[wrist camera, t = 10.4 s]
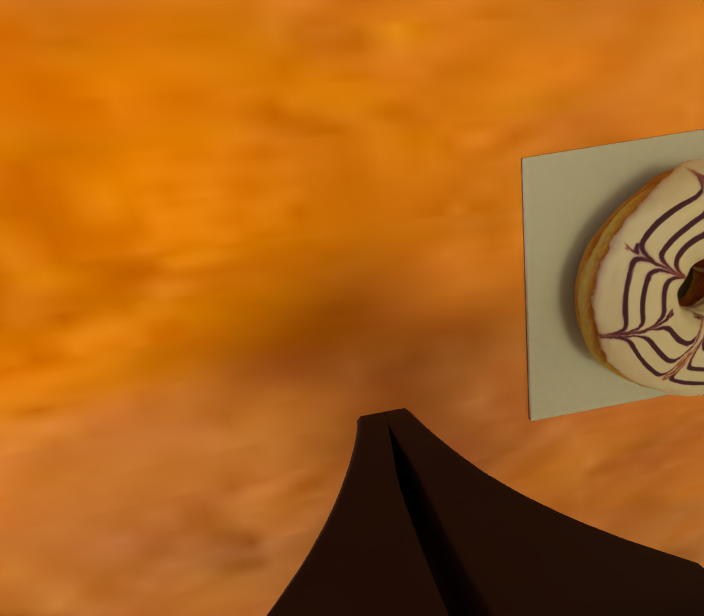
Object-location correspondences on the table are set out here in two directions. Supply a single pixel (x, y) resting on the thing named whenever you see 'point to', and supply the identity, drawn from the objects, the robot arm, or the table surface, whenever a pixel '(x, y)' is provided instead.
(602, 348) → the decorated donut
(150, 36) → the table surface
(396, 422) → the robot arm
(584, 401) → the placemat
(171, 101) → the table surface
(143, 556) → the table surface
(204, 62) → the table surface
